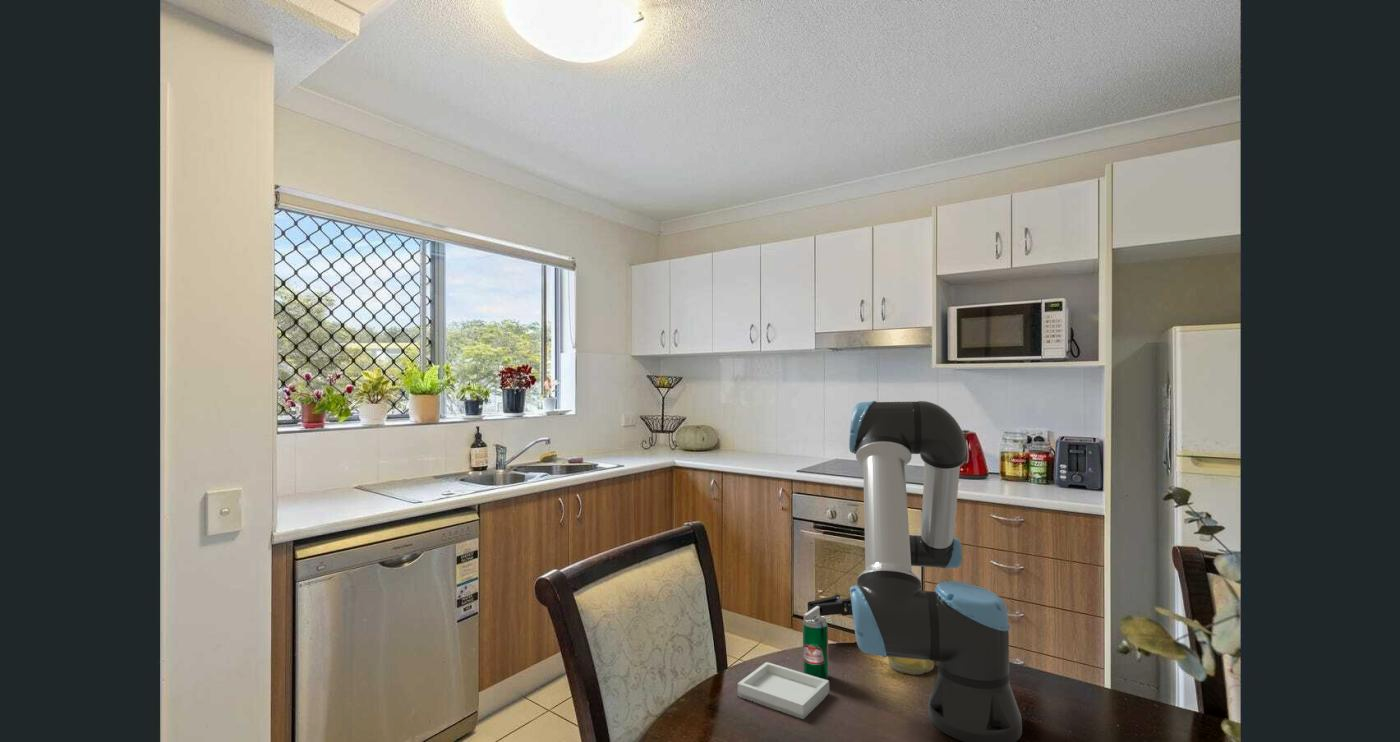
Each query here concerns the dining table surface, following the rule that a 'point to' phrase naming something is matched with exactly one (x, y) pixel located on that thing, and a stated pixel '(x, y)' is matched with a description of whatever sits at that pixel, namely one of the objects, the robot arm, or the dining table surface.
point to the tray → (784, 689)
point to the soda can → (815, 646)
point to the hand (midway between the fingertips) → (833, 628)
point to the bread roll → (910, 665)
